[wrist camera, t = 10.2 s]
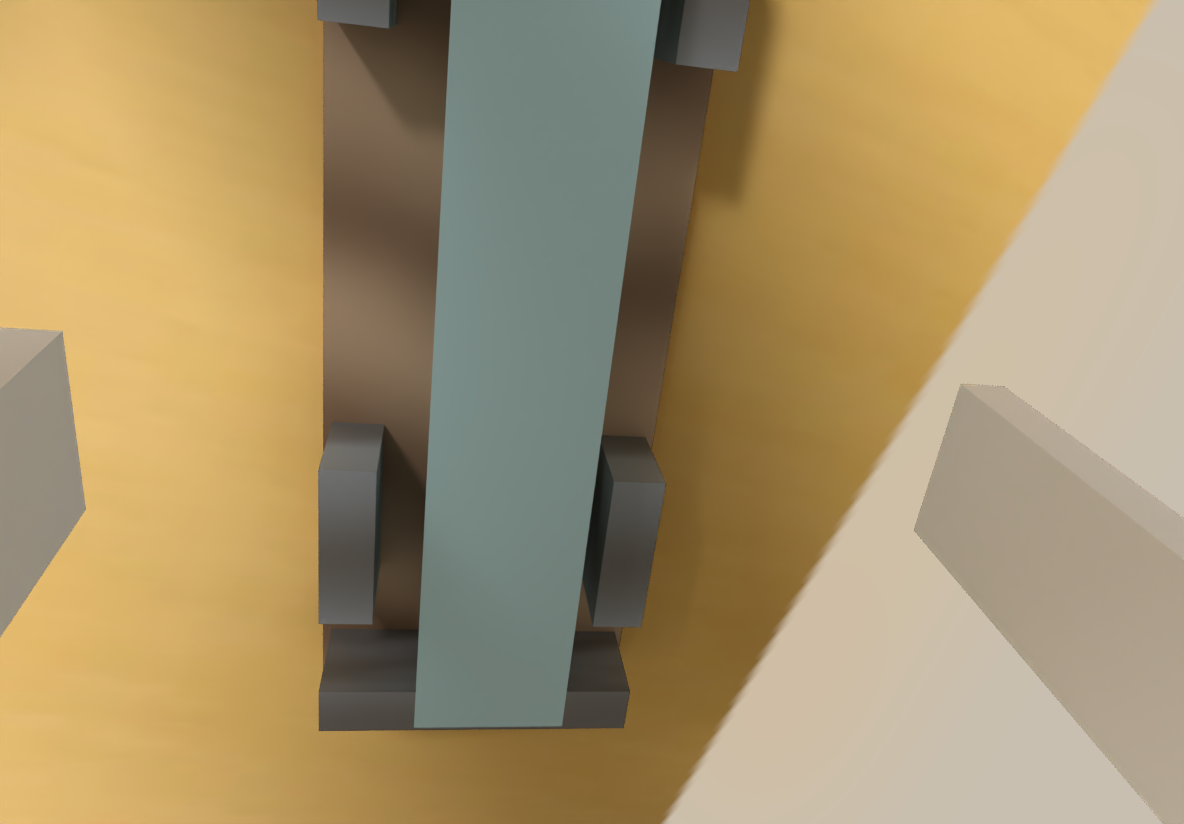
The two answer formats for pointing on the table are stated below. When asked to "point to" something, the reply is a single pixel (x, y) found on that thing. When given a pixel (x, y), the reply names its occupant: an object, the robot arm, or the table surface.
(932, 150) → the table surface
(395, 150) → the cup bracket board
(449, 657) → the rail
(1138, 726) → the robot arm
